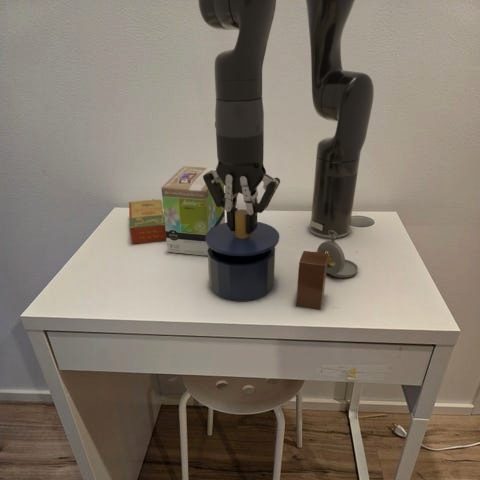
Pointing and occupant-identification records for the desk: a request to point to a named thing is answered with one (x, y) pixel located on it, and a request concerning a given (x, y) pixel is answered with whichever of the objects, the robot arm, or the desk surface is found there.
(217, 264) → the tin
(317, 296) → the block
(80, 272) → the desk surface
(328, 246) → the pocket watch
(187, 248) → the tea box
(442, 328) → the desk surface
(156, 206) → the carton
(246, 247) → the tin lid
